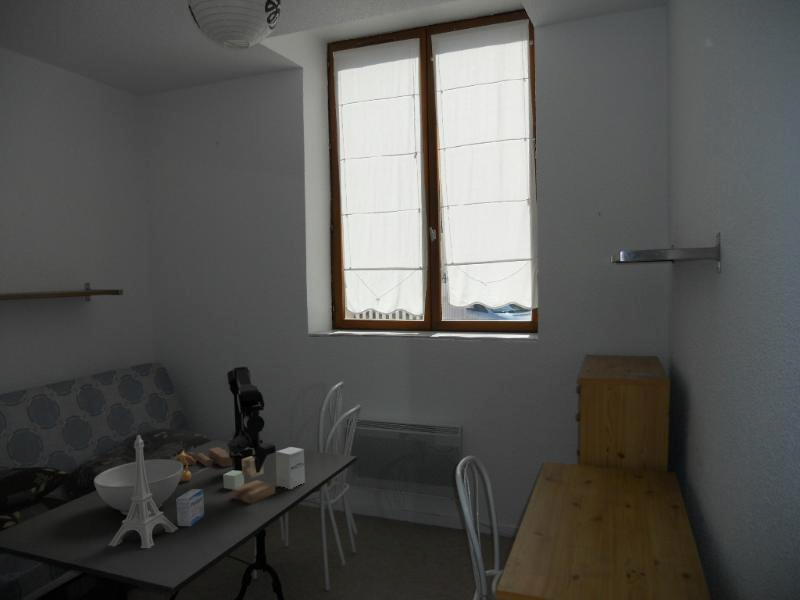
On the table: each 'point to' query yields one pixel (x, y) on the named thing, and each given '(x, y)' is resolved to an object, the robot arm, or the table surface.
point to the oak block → (250, 467)
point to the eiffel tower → (142, 507)
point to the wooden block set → (210, 458)
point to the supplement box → (290, 467)
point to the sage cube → (233, 479)
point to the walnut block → (253, 491)
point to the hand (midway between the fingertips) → (253, 471)
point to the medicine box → (190, 507)
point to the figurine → (186, 474)
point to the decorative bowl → (121, 483)
